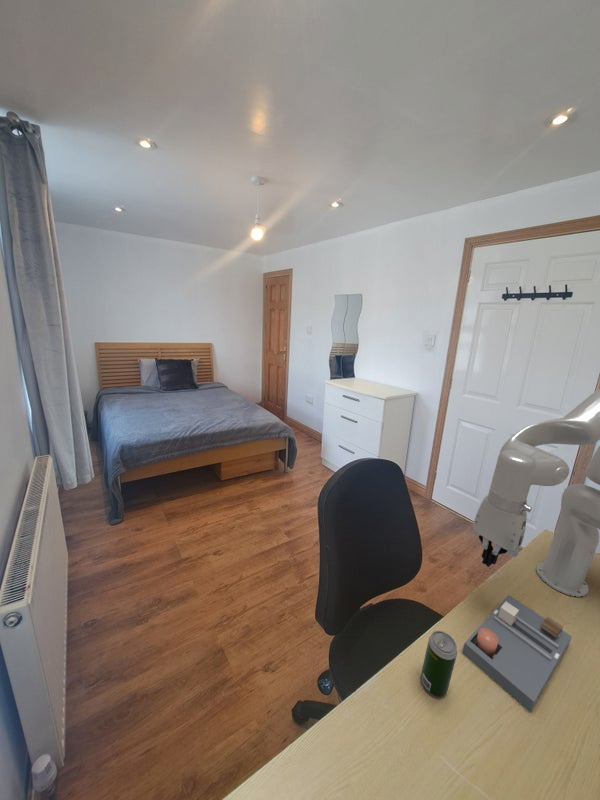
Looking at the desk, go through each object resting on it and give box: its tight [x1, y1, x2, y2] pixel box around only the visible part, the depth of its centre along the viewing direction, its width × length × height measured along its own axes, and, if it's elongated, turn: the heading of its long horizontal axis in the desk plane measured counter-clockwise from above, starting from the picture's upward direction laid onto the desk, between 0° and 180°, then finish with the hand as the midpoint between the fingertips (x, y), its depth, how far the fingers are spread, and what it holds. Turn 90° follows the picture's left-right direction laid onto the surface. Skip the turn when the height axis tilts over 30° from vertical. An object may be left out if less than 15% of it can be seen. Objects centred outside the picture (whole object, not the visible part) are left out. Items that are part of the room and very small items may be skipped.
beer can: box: [420, 630, 458, 699], centre depth 66 cm, size 5×5×12 cm
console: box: [461, 594, 573, 713], centre depth 76 cm, size 24×14×4 cm, turn 126°
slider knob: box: [498, 602, 519, 626], centre depth 80 cm, size 3×3×3 cm
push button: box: [475, 628, 499, 657], centre depth 74 cm, size 4×4×4 cm
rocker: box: [541, 616, 564, 637], centre depth 78 cm, size 5×3×1 cm, turn 127°
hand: (487, 562), depth 82 cm, fingers closed
